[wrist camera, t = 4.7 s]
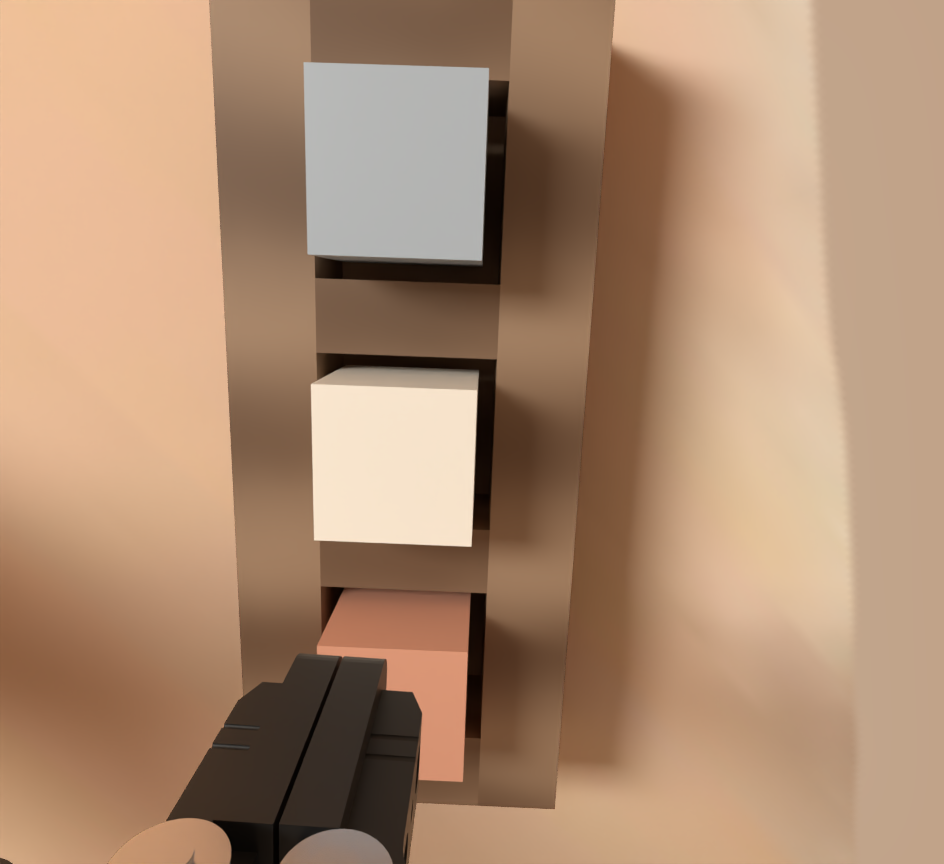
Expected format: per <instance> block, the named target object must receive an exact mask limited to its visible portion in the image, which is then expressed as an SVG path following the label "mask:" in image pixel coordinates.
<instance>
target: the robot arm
mask: <svg viewBox="0 0 944 864" xmlns="http://www.w3.org/2000/svg"><path fill="white" fill-rule="evenodd" d="M386 686H387V660H386V659H379V658H365V657H350V656H344V657H343V658H342V656H333V655H319V654H304V653H299V654H298V655H297V656H296V658H295V660H294V662H293V664H292V666H291V668H290V669H289V671H288V673H287V675H286V677H285V679H284V681H283V683H273V682H261V683H260V684H259V685H258V686H256V687H255V688H254V689H252V690H251V691H250V692H249V693H247V694H246V695H245V696H243V697H242V698H241V699H240V700H238V702H237V703H236V705H235V707H234V708H233V710H232V712H231V714H230V715H229V717H228V719H227V720H226V722H225V724H224V728H222V729H221V730H220V732H219V734H218V735H217V737H216V739H215V740H214V742H213V746H212V748H210V749H209V750H208V752H207V754H206V755H205V757H204V759H203V760H202V762H201V764H200V765H199V767H198V769H197V770H196V772H195V774H194V775H193V777H192V779H191V780H190V782H189V784H188V785H187V787H186V789H185V790H184V792H183V794H182V795H181V797H180V799H179V800H178V802H177V804H176V805H175V807H174V809H173V810H172V812H171V814H170V815H169V817H168V819H167V820H166V822H163V823H160V824H157V825H155V826H153V827H150V828H148V829H146V830H144V831H143V832H141V833H139V834H137V835H136V836H135V837H133V838H132V839H130V840H129V841H128V842H126V843H125V844H124V845H123V846H122V847H121V848H120V849H119V850H118V851H117V852H116V853H115V854H114V856H113V857H112V858H111V859H110V861H109V862H108V863H107V864H408V863H409V855H410V847H411V840H412V832H413V825H414V817H415V809H416V802H417V794H418V780H419V762H420V744H421V726H422V711H421V709H420V707H419V705H418V703H417V700H416V698H415V696H414V694H413V692H406V691H391V690H386ZM0 864H12V863H11V862H9V861H8V860H5V859H2V858H0Z"/></svg>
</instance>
